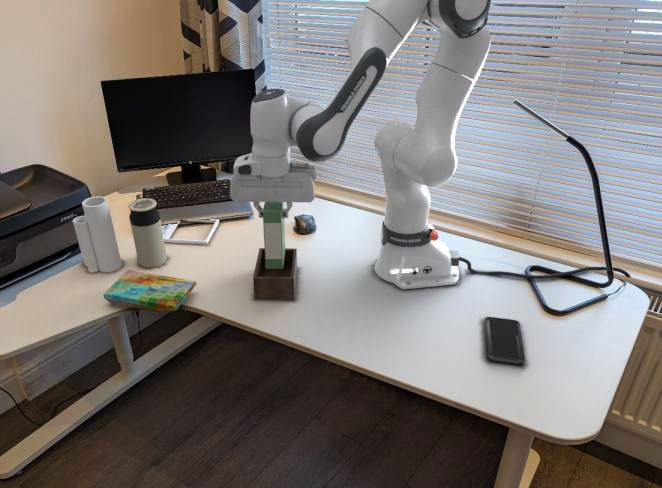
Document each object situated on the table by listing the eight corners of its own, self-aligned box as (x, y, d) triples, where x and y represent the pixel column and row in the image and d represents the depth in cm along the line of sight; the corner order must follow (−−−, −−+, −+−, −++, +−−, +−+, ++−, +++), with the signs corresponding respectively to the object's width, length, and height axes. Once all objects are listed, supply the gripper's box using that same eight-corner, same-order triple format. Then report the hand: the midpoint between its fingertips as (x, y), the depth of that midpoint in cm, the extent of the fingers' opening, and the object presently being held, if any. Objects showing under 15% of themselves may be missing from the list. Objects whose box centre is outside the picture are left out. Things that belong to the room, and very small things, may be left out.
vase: (125, 260, 160) (111, 196, 149) (115, 273, 154) (100, 208, 143) (88, 258, 161) (71, 195, 150) (77, 271, 155) (59, 206, 144)
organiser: (297, 269, 154) (296, 248, 150) (294, 300, 142) (293, 278, 138) (260, 268, 155) (259, 247, 151) (254, 299, 142) (253, 278, 138)
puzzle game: (126, 267, 148) (195, 278, 143) (130, 282, 150) (197, 293, 145) (102, 291, 138) (174, 304, 133) (106, 306, 141) (177, 319, 136)
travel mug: (172, 258, 160) (163, 201, 150) (153, 271, 155) (142, 212, 144) (152, 251, 164) (142, 195, 154) (132, 263, 158) (120, 206, 148)
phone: (487, 356, 120) (484, 316, 132) (486, 360, 121) (483, 319, 133) (525, 362, 119) (519, 320, 131) (524, 366, 119) (518, 324, 131)
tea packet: (283, 195, 138) (281, 212, 131) (285, 251, 147) (282, 269, 140) (266, 195, 139) (262, 211, 131) (268, 250, 148) (265, 269, 140)
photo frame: (165, 216, 180) (218, 218, 177) (165, 219, 180) (219, 222, 178) (148, 238, 168) (206, 241, 165) (149, 241, 169) (206, 244, 166)
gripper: (316, 158, 130) (316, 211, 138) (230, 157, 132) (234, 210, 140) (316, 168, 125) (315, 223, 133) (226, 168, 127) (231, 222, 134)
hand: (273, 216), depth 136 cm, fingers closed on tea packet, 4 cm apart
